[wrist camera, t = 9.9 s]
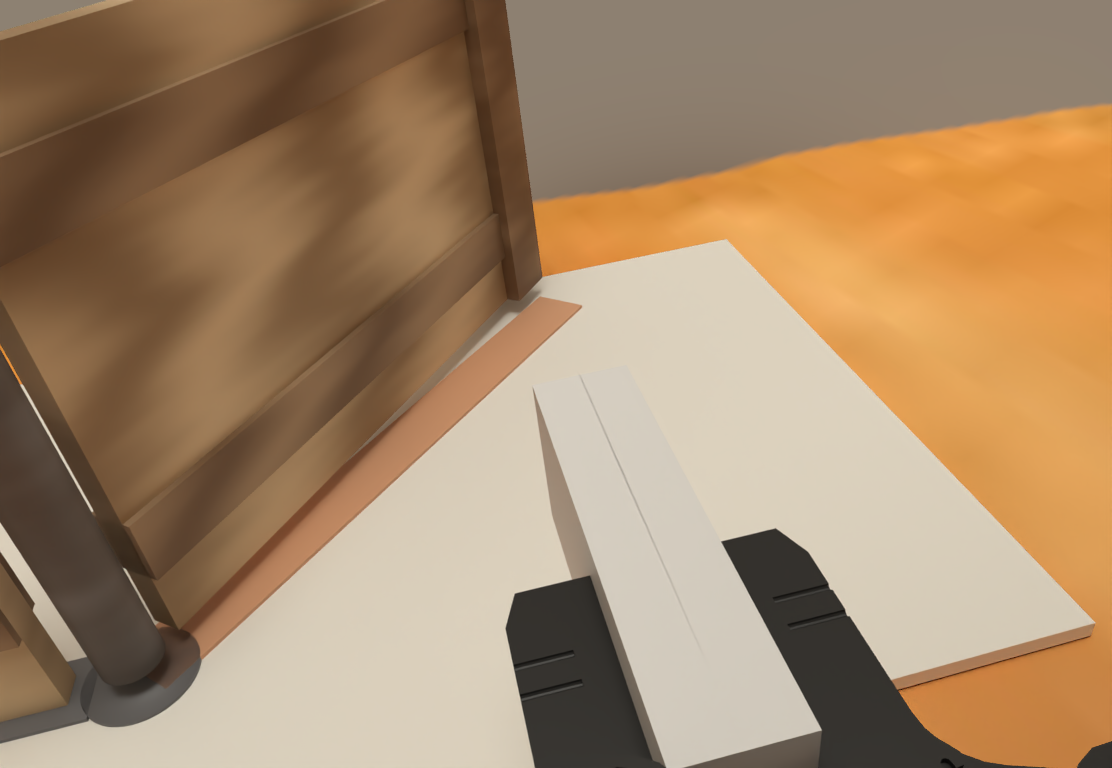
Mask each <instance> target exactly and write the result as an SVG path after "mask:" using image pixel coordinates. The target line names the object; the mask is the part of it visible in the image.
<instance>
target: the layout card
mask: <svg viewBox="0 0 1112 768" xmlns="http://www.w3.org/2000/svg"><path fill="white" fill-rule="evenodd" d="M624 365H627V367H628V369H629V371H630V373H631V374H632V376H633V378H634V380H635V382H636V384H637V386H638V388H639V389H640V391H641V393H642V395H643V397H644V399H645V401H646V403H647V404H648V406H649V408H650V410H651V412H652V414H653V416H654V417H655V419H656V421H657V423H658V425H659V427H660V429H661V431H662V432H663V434H664V436H665V438H666V440H667V442H668V444H669V445H670V447H671V449H672V451H673V453H674V455H675V457H676V459H677V460H678V462H679V464H680V466H681V468H682V470H683V472H684V473H685V475H686V477H687V479H688V481H689V483H690V485H691V487H692V488H693V490H694V492H695V494H696V496H697V498H698V500H699V502H700V503H701V505H702V507H703V509H704V511H705V513H706V515H707V516H708V518H709V520H710V522H711V524H712V526H713V528H714V530H715V531H716V533H717V535H718V537H719V539H720V541H725V540H729V539H733V538H737V537H741V536H746V535H750V534H754V533H758V532H762V531H766V530H771V529H775V528H776V529H778V530H779V531H780V532H782V533H783V534H784V535H786V536H787V537H788V538H790V539H791V540H793V541H794V542H795V543H797V544H798V545H799V546H801V547H802V548H804V549H805V550H806V551H808V552H809V554H810V555H811V557H812V558H813V560H814V562H815V563H816V565H817V566H818V568H819V569H820V571H821V572H822V574H823V576H824V577H825V579H826V580H827V582H828V583H829V588H830V590H833V591H834V593H835V594H836V596H837V597H838V599H839V600H840V602H841V603H842V605H843V606H844V608H845V611H846V614H847V616H850V617H851V619H852V620H853V622H854V623H855V625H856V627H857V628H858V630H859V631H860V633H861V634H862V636H863V637H864V639H865V640H866V642H867V644H868V645H869V647H870V648H871V650H872V651H873V653H874V654H875V656H876V657H877V659H878V661H879V662H880V664H881V665H882V667H883V668H884V670H885V671H886V673H887V675H888V676H889V678H890V679H891V681H892V682H893V684H894V685H895V687H896V688H897V690H899V689H902V688H906V687H909V686H913V685H916V684H920V683H924V682H927V681H931V680H934V679H938V678H941V677H945V676H948V675H952V674H956V673H959V672H963V671H966V670H970V669H973V668H977V667H981V666H984V665H988V664H991V663H995V662H998V661H1002V660H1005V659H1009V658H1013V657H1016V656H1020V655H1023V654H1027V653H1030V652H1034V651H1037V650H1041V649H1045V648H1048V647H1052V646H1055V645H1059V644H1062V643H1066V642H1070V641H1073V640H1077V639H1080V638H1084V637H1087V636H1091V634H1092V631H1093V628H1094V626H1095V622H1094V621H1093V620H1092V619H1091V618H1090V617H1089V616H1088V614H1087V613H1086V612H1085V611H1084V610H1083V609H1082V608H1081V607H1080V606H1079V605H1078V604H1077V603H1076V602H1075V601H1074V600H1073V599H1072V598H1071V597H1070V596H1069V595H1068V594H1067V593H1066V592H1065V591H1064V590H1063V589H1062V587H1061V586H1060V585H1059V584H1058V583H1057V582H1056V581H1055V580H1054V579H1053V578H1052V577H1051V576H1050V575H1049V574H1048V573H1047V572H1046V571H1045V570H1044V569H1043V568H1042V567H1041V566H1040V565H1039V564H1038V563H1037V562H1036V560H1035V559H1034V558H1033V557H1032V556H1031V555H1030V554H1029V553H1028V552H1027V551H1026V550H1025V549H1024V548H1023V547H1022V546H1021V545H1020V544H1019V543H1018V542H1017V541H1016V540H1015V539H1014V538H1013V537H1012V536H1011V534H1010V533H1009V532H1008V531H1007V530H1006V529H1005V528H1004V527H1003V526H1002V525H1001V524H1000V523H999V522H998V521H997V520H996V519H995V518H994V517H993V516H992V515H991V514H990V513H989V512H988V511H987V510H986V509H985V507H984V506H983V505H982V504H981V503H980V502H979V501H978V500H977V499H976V498H975V497H974V496H973V495H972V494H971V493H970V492H969V491H968V490H967V489H966V488H965V487H964V486H963V485H962V484H961V483H960V482H959V480H958V479H957V478H956V477H955V476H954V475H953V474H952V473H951V472H950V471H949V470H948V469H947V468H946V467H945V466H944V465H943V464H942V463H941V462H940V461H939V460H938V459H937V458H936V457H935V456H934V455H933V453H932V452H931V451H930V450H929V449H928V448H927V447H926V446H925V445H924V444H923V443H922V442H921V441H920V440H919V439H918V438H917V437H916V436H915V435H914V434H913V433H912V432H911V431H910V430H909V429H908V428H907V426H906V425H905V424H904V423H903V422H902V421H901V420H900V419H899V418H898V417H897V416H896V415H895V414H894V413H893V412H892V411H891V410H890V409H889V408H888V407H887V406H886V405H885V404H884V403H883V402H882V401H881V399H880V398H879V397H878V396H877V395H876V394H875V393H874V392H873V391H872V390H871V389H870V388H869V387H868V386H867V385H866V384H865V383H864V382H863V381H862V380H861V379H860V378H859V377H858V376H857V375H856V374H855V372H854V371H853V370H852V369H851V368H850V367H849V366H848V365H847V364H846V363H845V362H844V361H843V360H842V359H841V358H840V357H839V356H838V355H837V354H836V353H835V352H834V351H833V350H832V349H831V348H830V346H829V345H828V344H827V343H826V342H825V341H824V340H823V339H822V338H821V337H820V336H819V335H818V334H817V333H816V332H815V331H814V330H813V329H812V328H811V327H810V326H809V325H808V324H807V323H806V322H805V321H804V319H803V318H802V317H801V316H800V315H799V314H798V313H797V312H796V311H795V310H794V309H793V308H792V307H791V306H790V305H789V304H788V303H787V302H786V301H785V300H784V299H783V298H782V297H781V296H780V295H779V294H778V292H777V291H776V290H775V289H774V288H773V287H772V286H771V285H770V284H769V283H768V282H767V281H766V280H765V279H764V278H763V277H762V276H761V275H760V274H759V273H758V272H757V271H756V270H755V269H754V268H753V267H752V265H751V264H750V263H749V262H748V261H747V260H746V259H745V258H744V257H743V256H742V255H741V254H740V253H739V252H738V251H737V250H736V249H735V248H734V247H733V246H732V245H731V244H730V243H729V242H728V241H727V240H726V239H725V240H720V241H715V242H710V243H706V244H701V245H696V246H691V247H686V248H681V249H676V250H672V251H667V252H662V253H657V254H652V255H647V256H643V257H638V258H633V259H628V260H623V261H618V262H613V263H609V264H604V265H599V266H594V267H589V268H584V269H579V270H575V271H570V272H565V273H560V274H555V275H550V276H546V277H542V279H541V280H540V281H539V282H538V283H537V284H536V285H535V286H534V287H533V288H532V289H531V290H530V291H529V292H528V293H527V294H526V295H525V296H524V297H523V298H522V299H521V300H520V301H516V300H509V299H507V300H506V301H505V302H504V303H503V304H502V305H501V306H500V307H499V308H498V309H497V310H496V311H495V312H494V313H493V314H492V315H491V316H490V317H489V318H488V319H487V320H486V321H485V322H484V323H483V324H482V325H481V326H480V327H479V328H478V329H477V330H476V331H475V332H474V333H473V334H472V335H471V336H470V337H469V338H468V339H467V340H466V341H465V342H464V343H463V345H462V346H461V347H460V348H459V349H458V350H457V351H456V352H455V353H454V354H453V355H452V356H451V357H450V358H449V359H448V360H447V361H446V362H445V363H444V364H443V365H442V366H441V367H440V368H439V369H438V370H437V371H436V372H435V373H434V374H433V375H432V376H431V377H430V378H429V379H428V380H427V381H426V382H425V383H424V384H423V385H422V386H421V387H420V388H419V389H418V390H417V391H416V392H415V393H414V394H413V395H412V396H411V397H410V398H409V399H408V400H407V401H406V402H405V403H404V404H403V405H402V406H401V407H400V408H399V409H398V410H397V411H396V412H395V413H394V414H393V415H392V416H391V417H390V418H389V419H388V420H387V421H386V422H385V423H384V424H383V425H382V426H381V427H380V428H379V429H378V430H377V431H376V432H375V433H374V434H373V435H372V436H371V437H370V438H369V439H368V440H367V441H366V442H365V443H364V444H363V445H362V446H361V447H360V448H359V449H358V450H357V451H356V452H355V453H354V454H353V455H352V456H351V457H350V458H349V459H348V460H347V461H346V462H345V463H344V464H343V465H342V466H341V467H340V468H339V469H338V470H337V471H336V472H335V473H334V474H333V475H332V476H331V478H330V479H329V480H328V481H327V482H326V483H325V484H324V485H323V486H322V487H321V488H320V489H319V490H318V491H317V492H316V493H315V494H314V495H313V496H312V497H311V498H310V499H309V500H308V501H307V502H306V503H305V504H304V505H303V506H302V507H301V508H300V509H299V510H298V511H297V512H296V513H295V514H294V515H293V516H292V517H291V518H290V519H289V520H288V521H287V522H286V523H285V524H284V525H283V526H282V527H281V528H280V529H279V530H278V531H277V532H276V533H275V534H274V535H273V536H272V537H271V538H270V539H269V540H268V541H267V542H266V543H265V544H264V545H263V546H262V547H261V548H260V549H259V550H258V551H257V552H256V553H255V554H254V555H253V556H252V557H251V558H250V559H249V560H248V561H247V562H246V563H245V564H244V565H243V566H242V567H241V568H240V569H239V570H238V571H237V572H236V573H235V574H234V575H233V576H232V577H231V578H230V579H229V580H228V581H227V582H226V583H225V584H224V585H223V586H222V587H221V588H220V589H219V590H218V591H217V592H216V593H215V594H214V595H213V596H212V597H211V598H210V599H209V600H208V601H207V602H206V603H205V604H204V605H203V606H202V607H201V608H200V610H199V611H198V612H197V613H196V614H195V615H194V616H193V617H192V618H191V619H190V620H189V621H188V622H187V623H186V624H185V625H184V626H183V627H182V628H181V629H180V630H178V629H175V628H173V627H170V626H168V625H165V624H163V623H161V622H158V621H156V620H154V618H153V616H152V615H151V613H150V611H149V609H148V607H147V606H146V604H145V602H144V600H143V598H142V597H141V595H140V593H139V591H138V589H137V588H136V586H135V584H134V582H133V581H132V579H131V577H130V575H129V573H128V572H127V570H126V569H125V568H123V569H124V571H125V573H126V574H127V576H128V578H129V580H130V582H131V583H132V585H133V587H134V589H135V591H136V592H137V594H138V596H139V598H140V599H141V601H142V603H143V605H144V607H145V608H146V610H147V612H148V614H149V615H150V617H151V619H152V621H153V623H154V624H155V626H156V628H157V630H158V632H159V633H160V635H161V637H162V639H163V640H164V642H165V653H164V656H163V658H162V660H161V661H160V663H159V664H158V665H157V666H156V668H155V669H154V670H152V671H151V672H150V673H149V674H148V675H146V676H145V677H143V678H141V679H140V680H138V681H136V682H133V683H130V684H127V685H121V686H113V685H109V684H107V683H105V682H104V681H103V680H102V679H101V677H100V676H99V674H98V673H97V671H96V670H95V668H94V667H93V665H92V664H91V662H90V660H89V659H88V657H87V656H86V654H85V653H84V651H83V650H82V648H81V647H80V645H79V643H78V642H77V640H76V639H75V637H74V636H73V634H72V633H71V631H70V630H69V628H68V626H67V625H66V623H65V622H64V620H63V619H62V617H61V616H60V614H59V613H58V611H57V609H56V608H55V606H54V605H53V603H52V602H51V600H50V599H49V597H48V596H47V594H46V592H45V591H44V589H43V588H42V586H41V585H40V583H39V582H38V580H37V579H36V577H35V575H34V574H33V572H32V571H31V569H30V568H29V566H28V565H27V563H26V562H25V560H24V559H23V557H22V555H21V554H20V552H19V551H18V549H17V548H16V546H15V545H14V543H13V542H12V540H11V538H10V537H9V535H8V534H7V532H6V531H5V529H4V528H3V526H2V525H1V523H0V552H1V553H2V555H3V556H4V558H5V559H6V561H7V562H8V564H9V565H10V567H11V568H12V570H13V571H14V573H15V574H16V576H17V577H18V579H19V580H20V582H21V583H22V585H23V586H24V588H25V589H26V591H27V592H28V594H29V595H30V597H31V598H32V600H33V601H34V603H35V605H34V608H33V612H34V614H35V615H36V617H37V618H38V620H39V621H40V623H41V624H42V625H43V627H44V628H45V630H46V631H47V633H48V634H49V636H50V637H51V639H52V640H53V642H54V643H55V645H56V646H57V648H58V649H59V651H60V652H61V654H62V655H63V657H64V658H65V660H66V661H67V663H68V664H69V666H70V667H71V669H72V670H73V672H74V673H75V675H76V678H75V682H74V685H73V689H72V692H71V696H70V699H69V703H68V705H67V706H63V707H59V708H55V709H51V710H47V711H43V712H39V713H35V714H31V715H27V716H23V717H19V718H15V719H11V720H7V721H3V722H0V768H535V766H534V761H533V756H532V752H531V747H530V742H529V738H528V733H527V728H526V724H525V719H524V714H523V709H522V705H521V700H520V695H519V691H518V686H517V681H516V676H515V672H514V667H513V662H512V658H511V653H510V648H509V644H508V639H507V634H506V629H505V628H506V624H507V621H508V617H509V613H510V609H511V605H512V602H513V598H514V594H515V593H519V592H523V591H527V590H531V589H535V588H540V587H544V586H548V585H552V584H556V583H560V582H564V581H569V580H572V578H571V574H570V571H569V568H568V565H567V562H566V558H565V555H564V552H563V549H562V546H561V543H560V539H559V536H558V533H557V530H556V527H555V523H554V520H553V517H552V512H551V505H550V499H549V492H548V486H547V479H546V472H545V466H544V459H543V453H542V446H541V440H540V433H539V427H538V420H537V414H536V407H535V401H534V394H533V388H532V385H535V384H540V383H544V382H549V381H554V380H558V379H563V378H568V377H572V376H577V375H582V374H586V373H591V372H596V371H600V370H605V369H610V368H614V367H619V366H624ZM21 387H22V389H23V391H24V393H25V394H26V396H27V398H28V400H29V402H30V403H31V405H32V407H33V409H34V410H35V412H36V414H37V416H38V418H39V419H40V421H41V423H42V425H43V426H44V428H45V430H46V432H47V434H48V435H49V437H50V439H51V441H52V443H53V444H54V446H55V448H56V450H57V451H58V453H59V455H60V457H61V459H62V460H63V462H64V464H65V466H66V467H67V469H68V471H69V473H70V475H71V476H72V478H73V480H74V482H75V484H76V485H77V487H78V489H79V491H80V492H81V494H82V496H83V498H84V500H85V501H86V503H87V505H88V507H89V508H90V510H91V512H93V509H92V507H91V505H90V504H89V502H88V500H87V498H86V496H85V495H84V493H83V491H82V489H81V487H80V486H79V484H78V482H77V480H76V478H75V477H74V475H73V473H72V471H71V470H70V468H69V466H68V464H67V462H66V461H65V459H64V457H63V455H62V453H61V452H60V450H59V448H58V446H57V444H56V443H55V441H54V439H53V437H52V435H51V434H50V432H49V430H48V428H47V427H46V425H45V423H44V421H43V419H42V418H41V416H40V414H39V412H38V410H37V409H36V407H35V405H34V403H33V401H32V400H31V398H30V396H29V394H28V393H27V391H26V389H25V387H24V385H23V384H22V385H21Z"/></svg>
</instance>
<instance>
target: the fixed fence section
mask: <svg viewBox="0 0 1112 768" xmlns="http://www.w3.org/2000/svg"><path fill="white" fill-rule="evenodd" d="M34 605H35V603H34V601H33V600H32V598H31V597H30V595H29V594H28V592H27V591H26V589H25V588H24V586H23V585H22V583H21V582H20V580H19V579H18V577H17V576H16V574H15V573H14V571H13V570H12V568H11V567H10V565H9V564H8V562H7V561H6V559H5V558H4V556H3V555H2V553H1V552H0V722H3V721H7V720H11V719H15V718H19V717H23V716H27V715H31V714H35V713H39V712H43V711H47V710H51V709H55V708H59V707H63V706H67V705H68V703H69V699H70V696H71V692H72V689H73V685H74V682H75V678H76V675H75V673H74V672H73V670H72V669H71V667H70V666H69V664H68V663H67V661H66V660H65V658H64V657H63V655H62V654H61V652H60V651H59V649H58V648H57V646H56V645H55V643H54V642H53V640H52V639H51V637H50V636H49V634H48V633H47V631H46V630H45V628H44V627H43V625H42V624H41V623H40V621H39V620H38V618H37V617H36V615H35V614H34V612H33V608H34Z"/></svg>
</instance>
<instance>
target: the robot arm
mask: <svg viewBox="0 0 1112 768" xmlns="http://www.w3.org/2000/svg"><path fill="white" fill-rule="evenodd" d="M532 388H533V394H534V401H535V407H536V414H537V420H538V427H539V433H540V440H541V446H542V453H543V459H544V466H545V472H546V479H547V486H548V492H549V499H550V505H551V512H552V517H553V520H554V523H555V527H556V530H557V533H558V536H559V539H560V543H561V546H562V549H563V552H564V555H565V558H566V562H567V565H568V568H569V571H570V574H571V578H572V580H569V581H564V582H560V583H556V584H552V585H548V586H544V587H540V588H535V589H531V590H527V591H523V592H519V593H515V594H514V598H513V602H512V605H511V609H510V613H509V617H508V621H507V624H506V628H505V629H506V634H507V639H508V644H509V648H510V653H511V658H512V662H513V667H514V672H515V676H516V681H517V686H518V691H519V695H520V700H521V705H522V709H523V714H524V719H525V724H526V728H527V733H528V738H529V742H530V747H531V752H532V756H533V761H534V766H535V768H1044V767H1027V766H1010V765H1002V764H996V763H989V762H984V761H981V760H978V759H975V758H973V757H970V756H967V755H964V754H962V753H960V751H958V750H957V749H955V748H953V747H951V746H950V745H948V744H946V743H945V742H943V741H941V740H940V739H938V738H936V737H935V736H934V735H933V734H931V733H930V732H929V731H928V730H927V729H925V728H924V727H923V725H922V724H921V723H920V722H919V720H918V719H917V718H916V717H915V715H914V714H913V713H912V712H911V710H910V709H909V707H908V705H907V704H906V702H905V701H904V699H903V698H902V696H901V695H900V693H899V692H898V690H897V688H896V687H895V685H894V684H893V682H892V681H891V679H890V678H889V676H888V675H887V673H886V671H885V670H884V668H883V667H882V665H881V664H880V662H879V661H878V659H877V657H876V656H875V654H874V653H873V651H872V650H871V648H870V647H869V645H868V644H867V642H866V640H865V639H864V637H863V636H862V634H861V633H860V631H859V630H858V628H857V627H856V625H855V623H854V622H853V620H852V619H851V617H850V616H847V614H846V611H845V608H844V606H843V605H842V603H841V602H840V600H839V599H838V597H837V596H836V594H835V593H834V591H833V590H830V588H829V583H828V582H827V580H826V579H825V577H824V576H823V574H822V572H821V571H820V569H819V568H818V566H817V565H816V563H815V562H814V560H813V558H812V557H811V555H810V554H809V552H808V551H806V550H805V549H804V548H802V547H801V546H799V545H798V544H797V543H795V542H794V541H793V540H791V539H790V538H788V537H787V536H786V535H784V534H783V533H782V532H780V531H779V530H778V529H776V528H775V529H771V530H766V531H762V532H758V533H754V534H750V535H746V536H741V537H737V538H733V539H729V540H725V541H720V539H719V537H718V535H717V533H716V531H715V530H714V528H713V526H712V524H711V522H710V520H709V518H708V516H707V515H706V513H705V511H704V509H703V507H702V505H701V503H700V502H699V500H698V498H697V496H696V494H695V492H694V490H693V488H692V487H691V485H690V483H689V481H688V479H687V477H686V475H685V473H684V472H683V470H682V468H681V466H680V464H679V462H678V460H677V459H676V457H675V455H674V453H673V451H672V449H671V447H670V445H669V444H668V442H667V440H666V438H665V436H664V434H663V432H662V431H661V429H660V427H659V425H658V423H657V421H656V419H655V417H654V416H653V414H652V412H651V410H650V408H649V406H648V404H647V403H646V401H645V399H644V397H643V395H642V393H641V391H640V389H639V388H638V386H637V384H636V382H635V380H634V378H633V376H632V374H631V373H630V371H629V369H628V367H627V365H624V366H619V367H614V368H610V369H605V370H600V371H596V372H591V373H586V374H582V375H577V376H572V377H568V378H563V379H558V380H554V381H549V382H544V383H540V384H535V385H532ZM1077 768H1112V741H1111V742H1108V743H1105V744H1102V745H1099V746H1096V747H1093V748H1092V749H1091V750H1090V751H1089V752H1088V753H1087V755H1086V756H1085V757H1084V758H1083V759H1082V760H1081V762H1080V763H1079V764H1078V766H1077Z"/></svg>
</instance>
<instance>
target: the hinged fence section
mask: <svg viewBox="0 0 1112 768" xmlns="http://www.w3.org/2000/svg"><path fill="white" fill-rule="evenodd" d="M541 279H542V271H541V264H540V256H539V249H538V241H537V234H536V226H535V219H534V211H533V204H532V197H531V189H530V182H529V174H528V167H527V160H526V153H525V145H524V137H523V130H522V122H521V115H520V107H519V101H518V93H517V85H516V77H515V70H514V63H513V56H512V48H511V40H510V33H509V26H508V18H507V10H506V3H505V0H107V1H103V2H100V3H96V4H93V5H90V6H86V7H82V8H79V9H76V10H72V11H69V12H65V13H62V14H59V15H55V16H52V17H49V18H45V19H41V20H38V21H35V22H31V23H28V24H25V25H21V26H17V27H14V28H11V29H7V30H4V31H1V32H0V344H1V346H2V348H3V350H4V351H5V353H6V355H7V357H8V358H9V360H10V362H11V364H12V366H13V367H14V369H15V371H16V373H17V375H18V376H19V378H20V380H21V382H22V384H23V385H24V387H25V389H26V391H27V393H28V394H29V396H30V398H31V400H32V401H33V403H34V405H35V407H36V409H37V410H38V412H39V414H40V416H41V418H42V419H43V421H44V423H45V425H46V427H47V428H48V430H49V432H50V434H51V435H52V437H53V439H54V441H55V443H56V444H57V446H58V448H59V450H60V452H61V453H62V455H63V457H64V459H65V461H66V462H67V464H68V466H69V468H70V470H71V471H72V473H73V475H74V477H75V478H76V480H77V482H78V484H79V486H80V487H81V489H82V491H83V493H84V495H85V496H86V498H87V500H88V502H89V504H90V505H91V507H92V509H93V512H91V510H90V508H89V507H88V505H87V503H86V501H85V500H84V498H83V496H82V494H81V492H80V491H79V489H78V487H77V485H76V484H75V482H74V480H73V478H72V476H71V475H70V473H69V471H68V469H67V467H66V466H65V464H64V462H63V460H62V459H61V457H60V455H59V453H58V451H57V450H56V448H55V446H54V444H53V443H52V441H51V439H50V437H49V435H48V434H47V432H46V430H45V428H44V426H43V425H42V423H41V421H40V419H39V418H38V416H37V414H36V412H35V410H34V409H33V407H32V405H31V403H30V402H29V400H28V398H27V396H26V394H25V393H24V391H23V389H22V387H21V385H20V384H19V382H18V380H17V378H16V377H15V375H14V373H13V371H12V369H11V368H10V366H9V364H8V362H7V361H6V359H5V357H4V355H3V353H2V352H1V350H0V523H1V525H2V526H3V528H4V529H5V531H6V532H7V534H8V535H9V537H10V538H11V540H12V542H13V543H14V545H15V546H16V548H17V549H18V551H19V552H20V554H21V555H22V557H23V559H24V560H25V562H26V563H27V565H28V566H29V568H30V569H31V571H32V572H33V574H34V575H35V577H36V579H37V580H38V582H39V583H40V585H41V586H42V588H43V589H44V591H45V592H46V594H47V596H48V597H49V599H50V600H51V602H52V603H53V605H54V606H55V608H56V609H57V611H58V613H59V614H60V616H61V617H62V619H63V620H64V622H65V623H66V625H67V626H68V628H69V630H70V631H71V633H72V634H73V636H74V637H75V639H76V640H77V642H78V643H79V645H80V647H81V648H82V650H83V651H84V653H85V654H86V656H87V657H88V659H89V660H90V662H91V664H92V665H93V667H94V668H95V670H96V671H97V673H98V674H99V676H100V677H101V679H102V680H103V681H104V682H105V683H107V684H109V685H113V686H121V685H127V684H130V683H133V682H136V681H138V680H140V679H141V678H143V677H145V676H146V675H148V674H149V673H150V672H151V671H152V670H154V669H155V668H156V666H157V665H158V664H159V663H160V661H161V660H162V658H163V656H164V653H165V642H164V640H163V639H162V637H161V635H160V633H159V632H158V630H157V628H156V626H155V624H154V623H153V621H152V619H151V617H150V615H149V614H148V612H147V610H146V608H145V607H144V605H143V603H142V601H141V599H140V598H139V596H138V594H137V592H136V591H135V589H134V587H133V585H132V583H131V582H130V580H129V578H128V576H127V574H126V573H125V571H124V569H123V568H125V569H126V570H127V572H128V573H129V575H130V577H131V579H132V581H133V582H134V584H135V586H136V588H137V589H138V591H139V593H140V595H141V597H142V598H143V600H144V602H145V604H146V606H147V607H148V609H149V611H150V613H151V615H152V616H153V618H154V620H156V621H158V622H161V623H163V624H165V625H168V626H170V627H173V628H175V629H178V630H180V629H181V628H182V627H183V626H184V625H185V624H186V623H187V622H188V621H189V620H190V619H191V618H192V617H193V616H194V615H195V614H196V613H197V612H198V611H199V610H200V608H201V607H202V606H203V605H204V604H205V603H206V602H207V601H208V600H209V599H210V598H211V597H212V596H213V595H214V594H215V593H216V592H217V591H218V590H219V589H220V588H221V587H222V586H223V585H224V584H225V583H226V582H227V581H228V580H229V579H230V578H231V577H232V576H233V575H234V574H235V573H236V572H237V571H238V570H239V569H240V568H241V567H242V566H243V565H244V564H245V563H246V562H247V561H248V560H249V559H250V558H251V557H252V556H253V555H254V554H255V553H256V552H257V551H258V550H259V549H260V548H261V547H262V546H263V545H264V544H265V543H266V542H267V541H268V540H269V539H270V538H271V537H272V536H273V535H274V534H275V533H276V532H277V531H278V530H279V529H280V528H281V527H282V526H283V525H284V524H285V523H286V522H287V521H288V520H289V519H290V518H291V517H292V516H293V515H294V514H295V513H296V512H297V511H298V510H299V509H300V508H301V507H302V506H303V505H304V504H305V503H306V502H307V501H308V500H309V499H310V498H311V497H312V496H313V495H314V494H315V493H316V492H317V491H318V490H319V489H320V488H321V487H322V486H323V485H324V484H325V483H326V482H327V481H328V480H329V479H330V478H331V476H332V475H333V474H334V473H335V472H336V471H337V470H338V469H339V468H340V467H341V466H342V465H343V464H344V463H345V462H346V461H347V460H348V459H349V458H350V457H351V456H352V455H353V454H354V453H355V452H356V451H357V450H358V449H359V448H360V447H361V446H362V445H363V444H364V443H365V442H366V441H367V440H368V439H369V438H370V437H371V436H372V435H373V434H374V433H375V432H376V431H377V430H378V429H379V428H380V427H381V426H382V425H383V424H384V423H385V422H386V421H387V420H388V419H389V418H390V417H391V416H392V415H393V414H394V413H395V412H396V411H397V410H398V409H399V408H400V407H401V406H402V405H403V404H404V403H405V402H406V401H407V400H408V399H409V398H410V397H411V396H412V395H413V394H414V393H415V392H416V391H417V390H418V389H419V388H420V387H421V386H422V385H423V384H424V383H425V382H426V381H427V380H428V379H429V378H430V377H431V376H432V375H433V374H434V373H435V372H436V371H437V370H438V369H439V368H440V367H441V366H442V365H443V364H444V363H445V362H446V361H447V360H448V359H449V358H450V357H451V356H452V355H453V354H454V353H455V352H456V351H457V350H458V349H459V348H460V347H461V346H462V345H463V343H464V342H465V341H466V340H467V339H468V338H469V337H470V336H471V335H472V334H473V333H474V332H475V331H476V330H477V329H478V328H479V327H480V326H481V325H482V324H483V323H484V322H485V321H486V320H487V319H488V318H489V317H490V316H491V315H492V314H493V313H494V312H495V311H496V310H497V309H498V308H499V307H500V306H501V305H502V304H503V303H504V302H505V301H506V300H507V299H509V300H516V301H520V300H521V299H522V298H523V297H524V296H525V295H526V294H527V293H528V292H529V291H530V290H531V289H532V288H533V287H534V286H535V285H536V284H537V283H538V282H539V281H540V280H541Z"/></svg>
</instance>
